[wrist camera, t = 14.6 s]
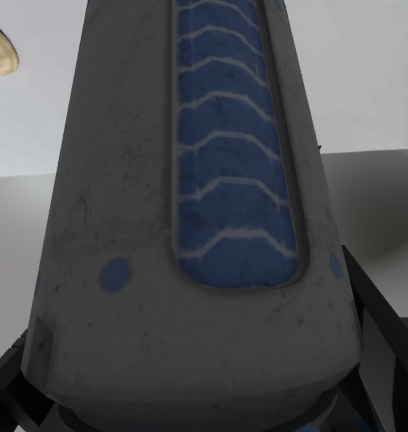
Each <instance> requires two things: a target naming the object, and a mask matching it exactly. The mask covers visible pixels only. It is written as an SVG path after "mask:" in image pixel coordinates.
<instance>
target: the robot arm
mask: <svg viewBox="0 0 408 432" xmlns="http://www.w3.org/2000/svg"><path fill="white" fill-rule="evenodd" d="M341 246H342V250H343V254H344V258H345V263H346V267H347V271H348V275H349V280H350V284H351V288H352V293H353V297H354V301H355V305H356V310H357V314H358V318H359V323H360V327H361V331H362V335H363V340H364V344H365V349H364V350H363V351H362V354H363V358H362V359H361V361H360V362H359V363H358V364H357V365H356V368H357V370H358V372H359V374H360V377H361V379H362V381H363V383H364V385H365V388H366V390H367V392H368V394H369V396H370V398H371V401H372V403H373V405H374V407H375V409H376V411H377V414H378V416H379V418H380V420H381V422H382V425H383V427H384V429H385V431H386V432H408V317H405V318H404V317H399V316H398V315H397V314H396V312H395V311H394V310H393V308H392V307H391V306H390V304H389V303H388V302H387V301H386V299H385V298H384V297H383V295H382V294H381V293H380V291H379V290H378V289H377V287H376V286H375V285H374V284H373V282H372V281H371V280H370V278H369V277H368V276H367V274H366V273H365V272H364V270H363V269H362V268H361V267H360V265H359V264H358V263H357V261H356V260H355V259H354V257H353V256H352V255H351V253H350V252H349V251H348V249H347V248H346V247H345V246H344V245H341ZM27 331H28V328H27V329H26V330H25V331H24V332H23V334H22V335H21V337H20V338H18V339H17V340H16V341H15V342H14V344H13V345H12V347H11V348H9V349H8V350H7V351H6V352H5V353H4V355H3V356H2V357H1V358H0V432H14V431H15V429H16V428H17V426H18V425H20V427H22V428H23V430H24V431H26V432H36V431H37V429H38V428H39V426H40V425H41V423H42V422H43V420H44V419H45V417H46V416H47V414H48V413H49V411H50V410H51V408H52V407H53V405H54V404H55V401H54V400H52V399H50V398H48V397H46V396H45V395H44V394H43V393H42V392H40V391H39V390H38V389H37V388H36V387H35V386H33V385H32V384H31V383H30V382H29V381H28V380H26V379H25V376H24V374H23V372H22V370H21V364H22V358H23V353H24V347H25V342H26V336H27Z"/></svg>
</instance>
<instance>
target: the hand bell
mask: <svg viewBox="0 0 408 432" xmlns="http://www.w3.org/2000/svg"><path fill="white" fill-rule="evenodd" d="M17 67H18V57H17V54H16V52H15V50H14V48H13V46H12V45H11V43H10V42H9V41H8V40H7V38H6V37H5V36H4V35H3V34H2V33H1V32H0V75H7V74H10V73H12V72H14V71H15V70H16V69H17Z"/></svg>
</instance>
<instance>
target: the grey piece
mask: <svg viewBox="0 0 408 432" xmlns="http://www.w3.org/2000/svg"><path fill="white" fill-rule="evenodd" d="M320 148H321V146H318V143H317V139H316V134H315V130H314V126H313V121H312V117H311V113H310V109H309V104H308V100H307V96H306V92H305V87H304V83H303V79H302V74H301V70H300V66H299V62H298V57H297V53H296V49H295V44H294V40H293V36H292V32H291V27H290V23H289V19H288V15H287V10H286V6H285V3H284V0H88V3H87V8H86V13H85V19H84V24H83V30H82V35H81V41H80V46H79V52H78V57H77V63H76V68H75V74H74V79H73V85H72V90H71V96H70V101H69V106H68V112H67V117H66V123H65V128H64V134H63V139H62V145H61V150H60V156H59V161H58V167H57V172H56V178H55V183H54V189H53V194H52V199H51V205H50V210H49V217H48V221H47V227H46V233H45V238H44V243H43V249H42V255H41V260H40V265H39V271H38V276H37V282H36V287H35V293H34V298H33V303H32V309H31V314H30V320H29V325H28V331H27V336H26V342H25V347H24V353H23V358H22V364H21V370H22V372H23V374H24V376H25V379H26V380H28V381H29V382H30V383H31V384H32V385H33V386H35V387H36V388H37V389H38V390H39V391H40V392H42V393H43V394H44V395H45V396H46V397H48V398H50V399H52V400H54V401H55V404H54V405H53V407H52V408H51V410H50V411H49V413H48V414H47V416H46V417H45V419H44V420H43V422H42V423H41V425H40V426H39V428H38V429H37V431H36V432H386V431H385V429H384V427H383V425H382V422H381V420H380V418H379V416H378V414H377V411H376V409H375V407H374V405H373V403H372V401H371V398H370V396H369V394H368V392H367V390H366V388H365V385H364V383H363V381H362V379H361V377H360V374H359V372H358V370H357V368H356V365H357V364H358V363H359V362H360V361H361V359H362V358H363V354H362V351H363V350H364V349H365V344H364V340H363V335H362V331H361V327H360V323H359V318H358V314H357V310H356V305H355V301H354V297H353V293H352V288H351V284H350V280H349V275H348V271H347V267H346V263H345V258H344V254H343V250H342V246H341V241H340V237H339V233H338V228H337V224H336V220H335V216H334V212H333V207H332V203H331V198H330V195H329V190H328V186H327V181H326V177H325V173H324V169H323V164H322V160H321V156H320V151H319V150H320Z"/></svg>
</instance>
